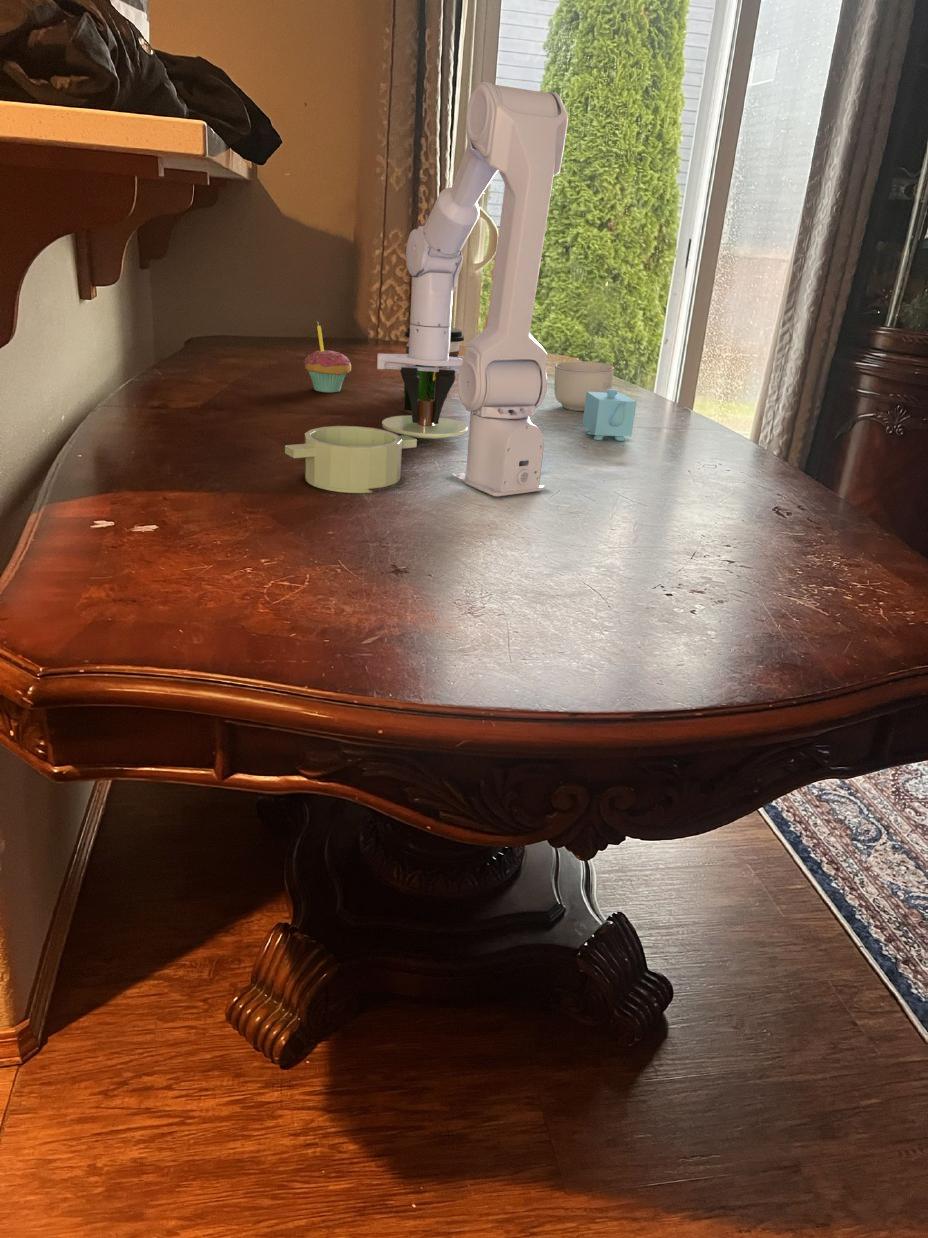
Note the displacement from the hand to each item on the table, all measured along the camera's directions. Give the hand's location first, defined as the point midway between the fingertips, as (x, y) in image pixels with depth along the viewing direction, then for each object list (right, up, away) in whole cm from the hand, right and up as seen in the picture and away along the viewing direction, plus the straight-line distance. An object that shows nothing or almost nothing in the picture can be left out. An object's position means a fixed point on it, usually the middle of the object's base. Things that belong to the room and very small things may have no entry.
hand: (425, 421), depth 131 cm
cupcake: (-19, +13, +34) cm, 42 cm away
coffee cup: (0, +13, +37) cm, 40 cm away
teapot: (+29, 0, +14) cm, 32 cm away
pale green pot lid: (0, -1, 0) cm, 1 cm away
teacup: (+27, +11, +37) cm, 48 cm away
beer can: (-2, +6, +21) cm, 21 cm away
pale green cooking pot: (-8, -12, -20) cm, 25 cm away
